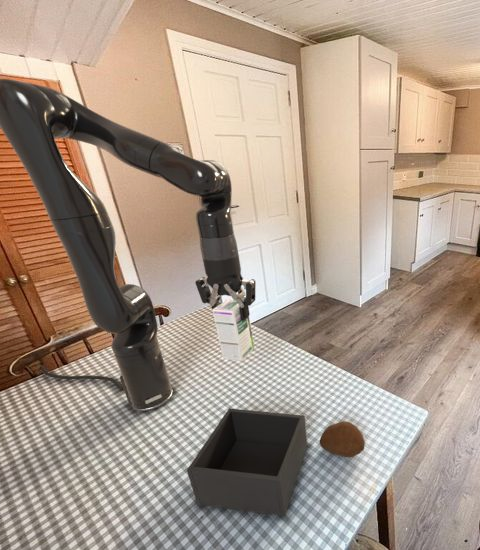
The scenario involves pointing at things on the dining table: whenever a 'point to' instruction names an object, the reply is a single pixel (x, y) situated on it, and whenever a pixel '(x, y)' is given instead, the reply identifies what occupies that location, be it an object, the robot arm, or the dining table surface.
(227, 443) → the basket
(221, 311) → the syrup box
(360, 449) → the potato
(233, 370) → the dining table surface
